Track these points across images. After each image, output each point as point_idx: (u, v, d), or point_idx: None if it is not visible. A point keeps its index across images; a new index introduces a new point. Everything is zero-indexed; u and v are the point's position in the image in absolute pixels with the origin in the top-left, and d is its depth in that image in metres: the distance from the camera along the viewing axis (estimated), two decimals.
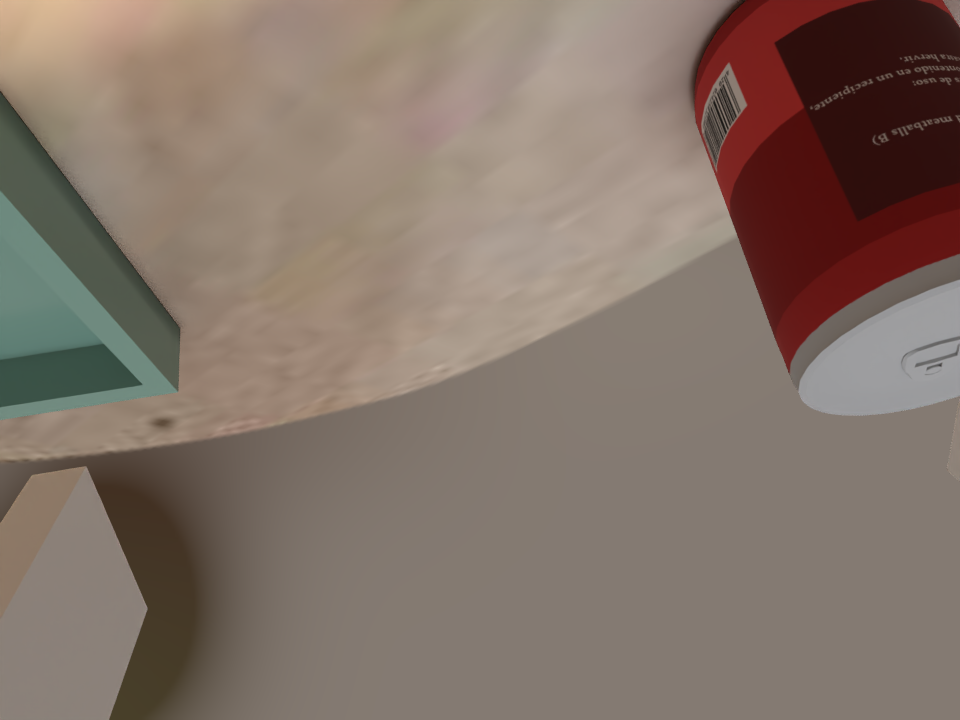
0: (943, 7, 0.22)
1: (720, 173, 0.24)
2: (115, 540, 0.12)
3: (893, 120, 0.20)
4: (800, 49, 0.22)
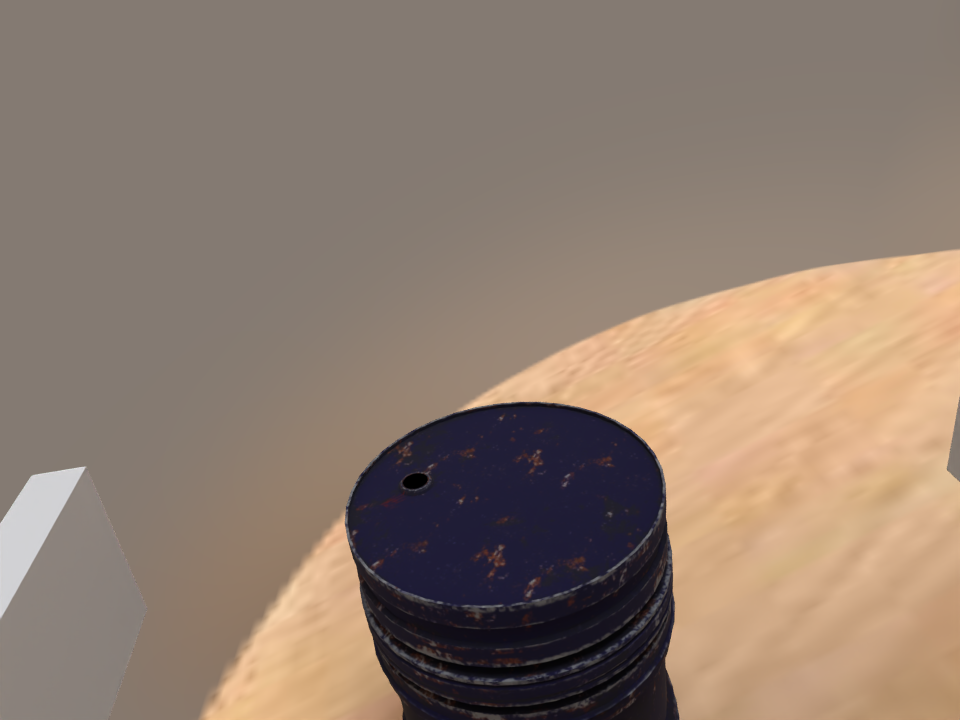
0: None
1: None
2: (115, 540, 0.12)
3: None
4: None
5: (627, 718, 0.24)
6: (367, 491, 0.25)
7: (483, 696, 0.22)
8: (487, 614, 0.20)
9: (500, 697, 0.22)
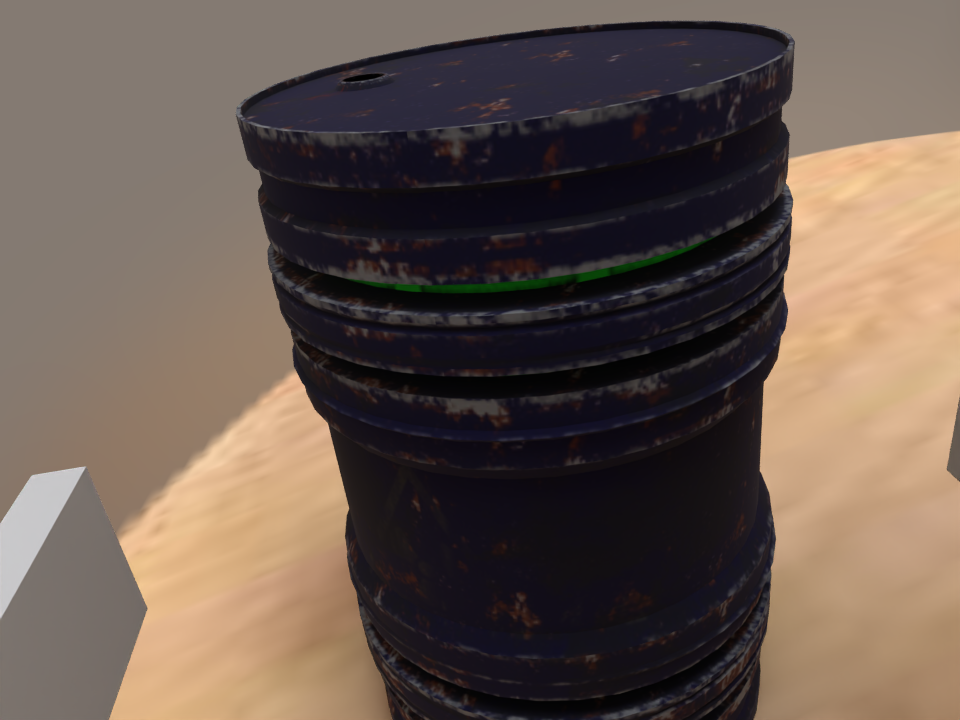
0: None
1: None
2: (115, 540, 0.12)
3: None
4: None
5: (714, 452, 0.14)
6: (284, 96, 0.15)
7: (466, 354, 0.12)
8: (476, 146, 0.10)
9: (499, 353, 0.12)
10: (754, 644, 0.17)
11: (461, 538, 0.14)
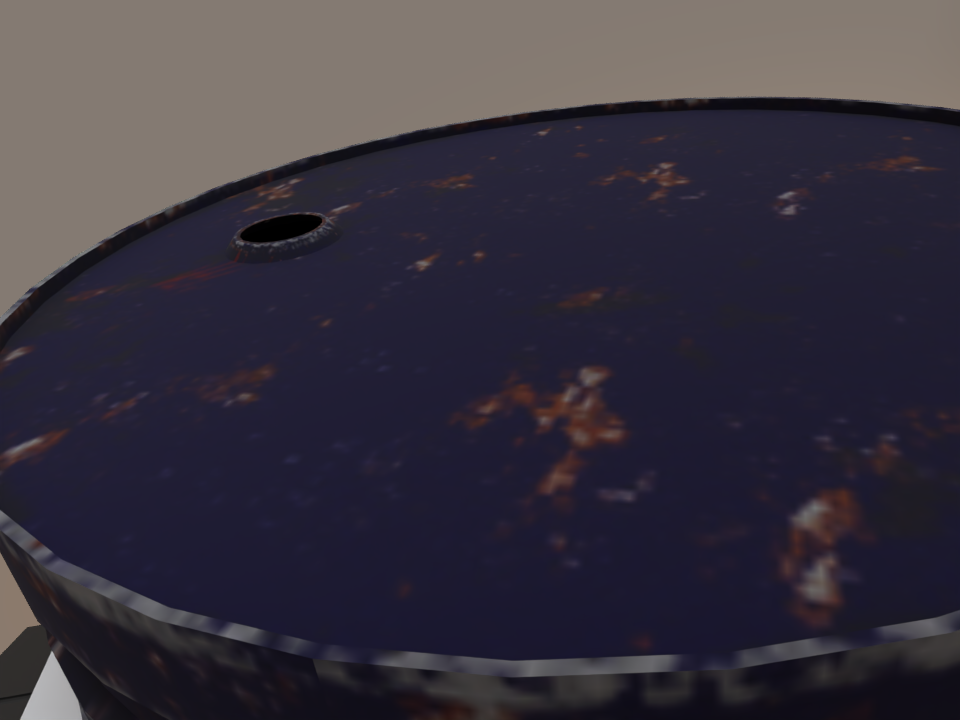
0: None
1: None
2: None
3: None
4: None
5: None
6: (129, 262, 0.08)
7: None
8: None
9: None
10: None
11: None
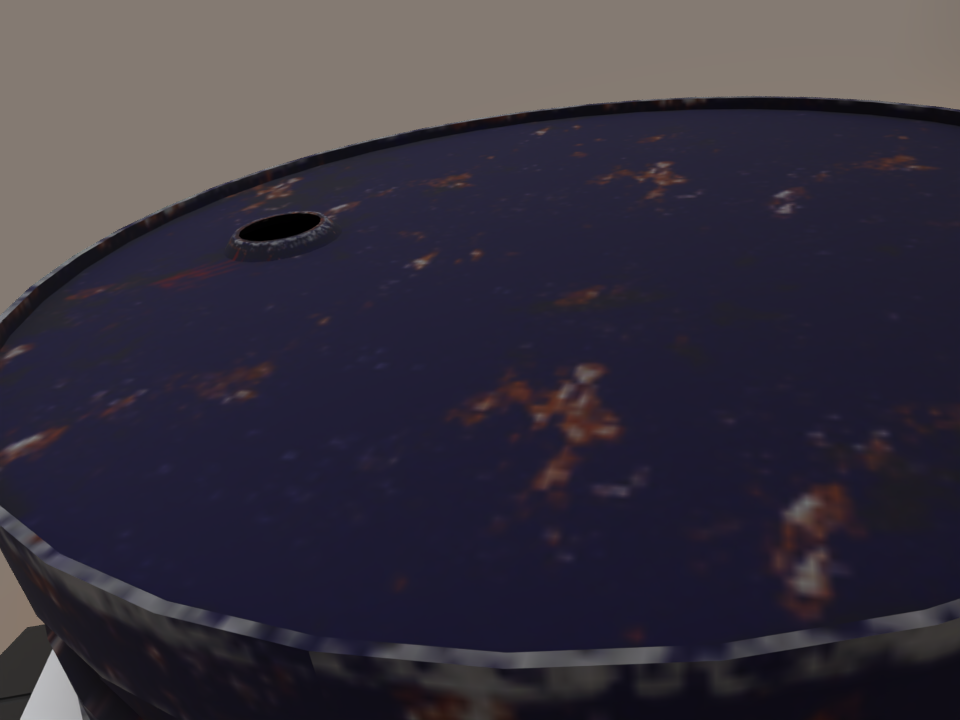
0: None
1: None
2: None
3: None
4: None
5: None
6: (128, 261, 0.08)
7: None
8: (551, 715, 0.03)
9: None
10: None
11: None
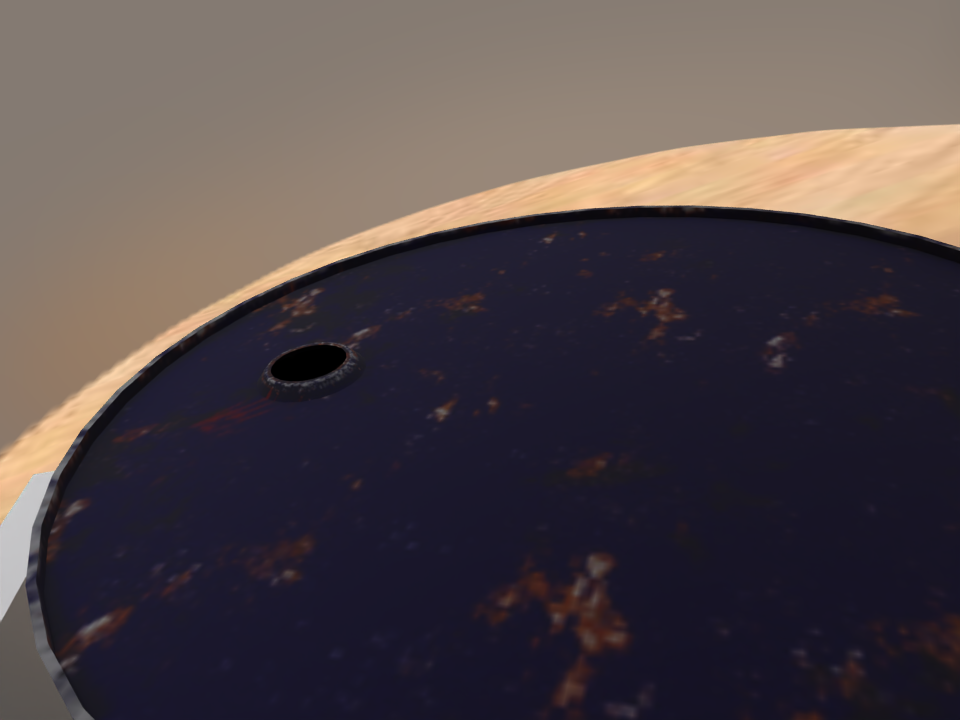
0: None
1: None
2: None
3: None
4: None
5: None
6: (167, 393, 0.09)
7: None
8: None
9: None
10: None
11: None
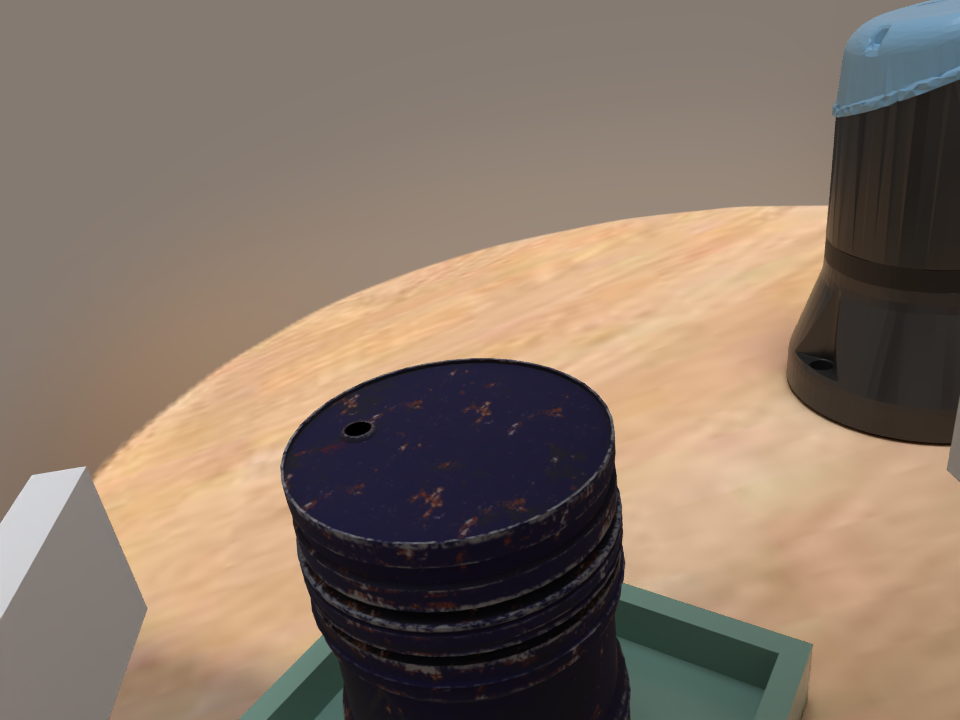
0: None
1: None
2: (115, 540, 0.12)
3: None
4: None
5: (571, 679, 0.23)
6: (307, 439, 0.24)
7: (416, 645, 0.21)
8: (419, 552, 0.19)
9: (434, 646, 0.21)
10: None
11: None
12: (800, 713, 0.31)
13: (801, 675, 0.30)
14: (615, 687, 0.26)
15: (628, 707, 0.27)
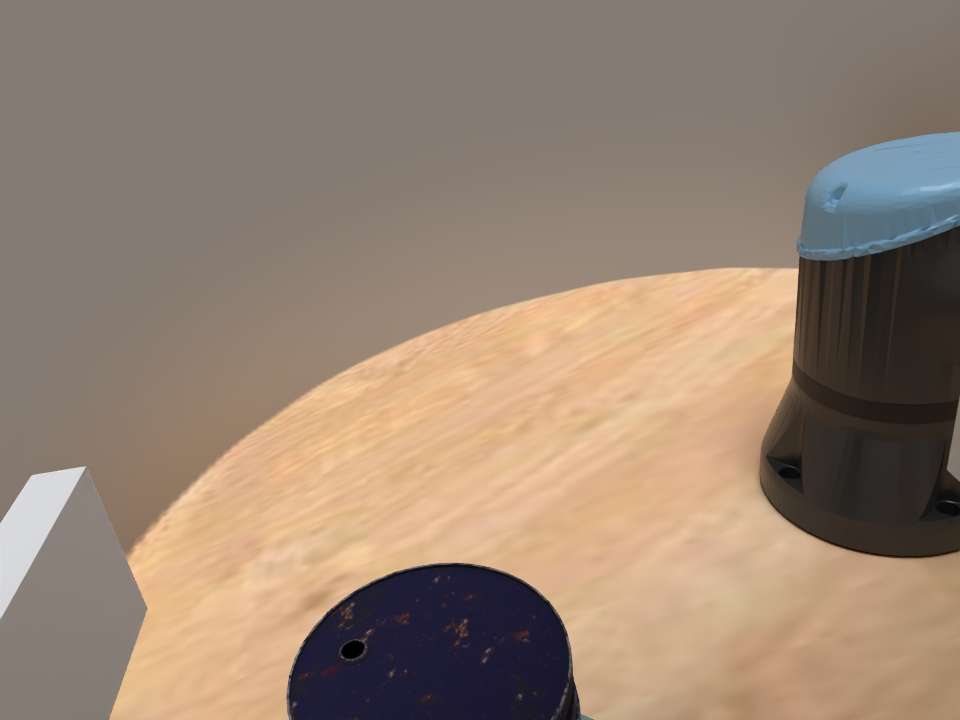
0: None
1: None
2: (115, 540, 0.12)
3: None
4: None
5: None
6: (309, 657, 0.28)
7: None
8: None
9: None
10: None
11: None
12: None
13: None
14: None
15: None
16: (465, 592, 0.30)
